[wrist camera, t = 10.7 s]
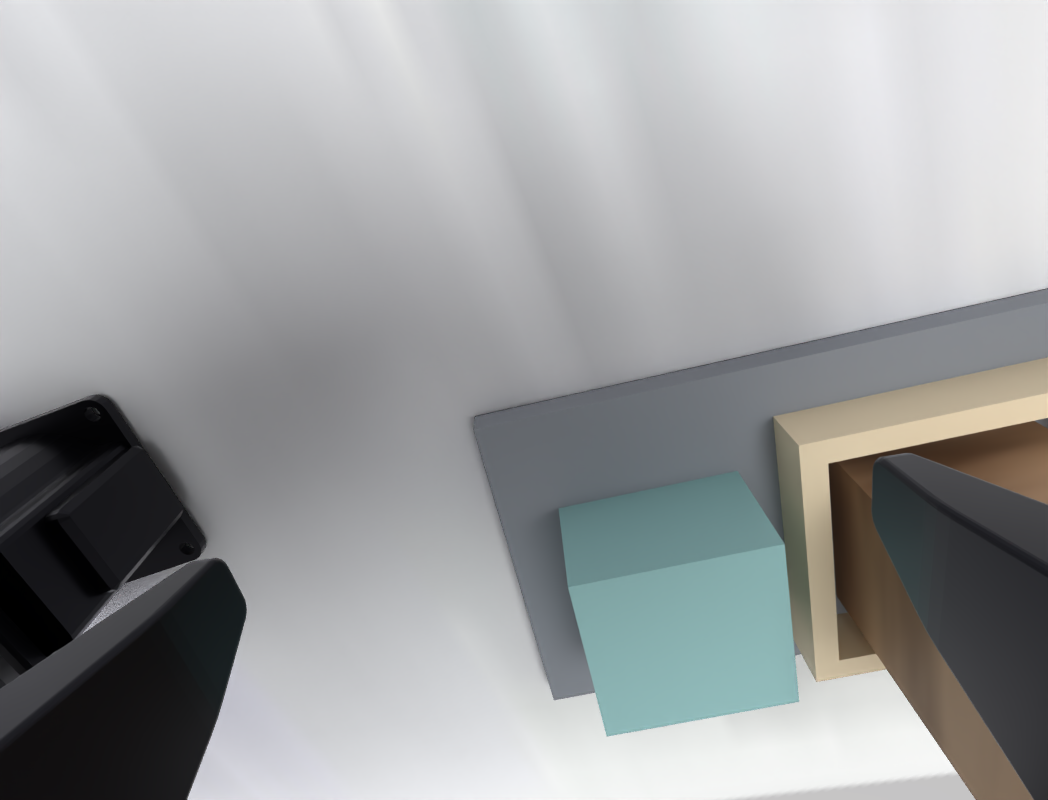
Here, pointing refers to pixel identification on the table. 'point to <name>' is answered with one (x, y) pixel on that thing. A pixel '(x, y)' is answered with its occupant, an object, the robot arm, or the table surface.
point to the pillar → (888, 614)
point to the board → (703, 437)
